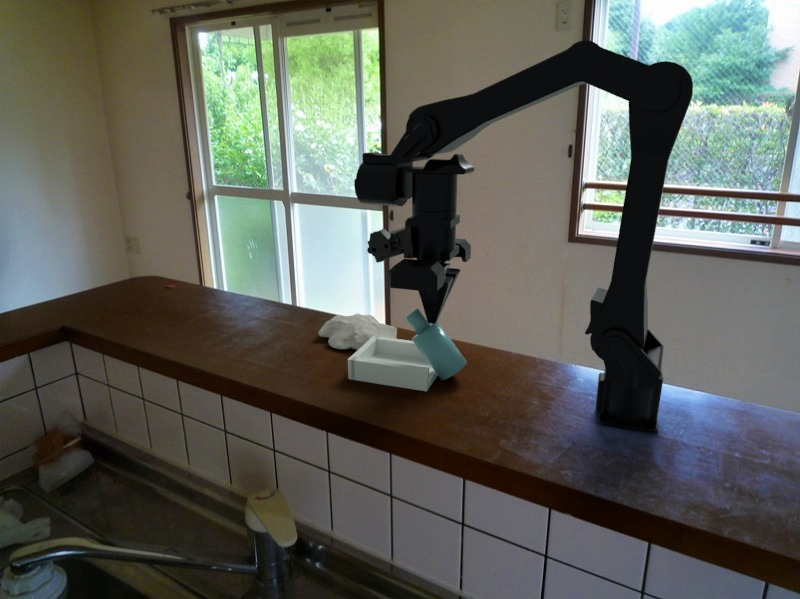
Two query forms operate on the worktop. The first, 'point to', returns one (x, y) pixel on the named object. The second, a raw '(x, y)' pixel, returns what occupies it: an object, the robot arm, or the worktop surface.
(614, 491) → the worktop surface
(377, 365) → the u rest
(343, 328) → the decorative stone
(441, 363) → the bottle
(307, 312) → the worktop surface
